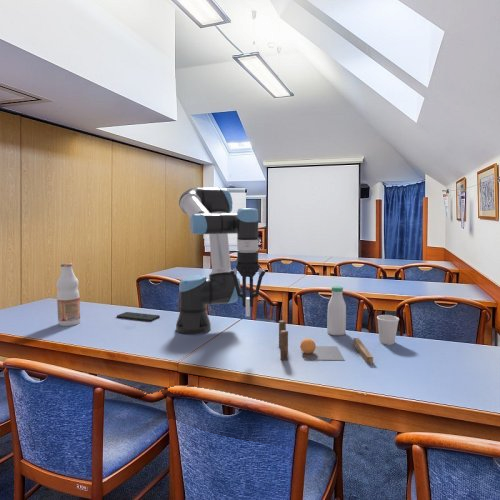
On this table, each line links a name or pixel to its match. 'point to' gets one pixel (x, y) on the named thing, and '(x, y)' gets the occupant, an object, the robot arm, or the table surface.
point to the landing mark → (324, 353)
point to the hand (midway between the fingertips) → (247, 315)
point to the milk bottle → (336, 313)
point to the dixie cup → (387, 328)
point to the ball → (308, 346)
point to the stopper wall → (363, 351)
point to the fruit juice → (68, 297)
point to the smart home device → (138, 316)
